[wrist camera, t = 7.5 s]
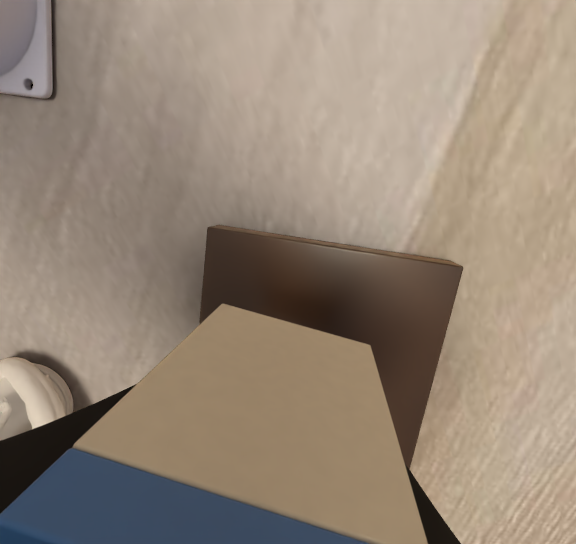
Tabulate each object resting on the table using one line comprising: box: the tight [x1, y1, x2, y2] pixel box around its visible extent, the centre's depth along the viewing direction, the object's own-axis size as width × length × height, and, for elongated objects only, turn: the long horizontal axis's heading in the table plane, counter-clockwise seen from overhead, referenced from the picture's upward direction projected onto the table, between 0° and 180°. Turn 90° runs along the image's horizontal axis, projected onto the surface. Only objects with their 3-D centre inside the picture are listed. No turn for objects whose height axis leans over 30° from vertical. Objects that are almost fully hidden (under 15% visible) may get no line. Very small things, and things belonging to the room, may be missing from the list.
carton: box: [0, 304, 428, 544], centre depth 7 cm, size 5×5×7 cm
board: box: [199, 225, 463, 469], centre depth 17 cm, size 12×13×2 cm
